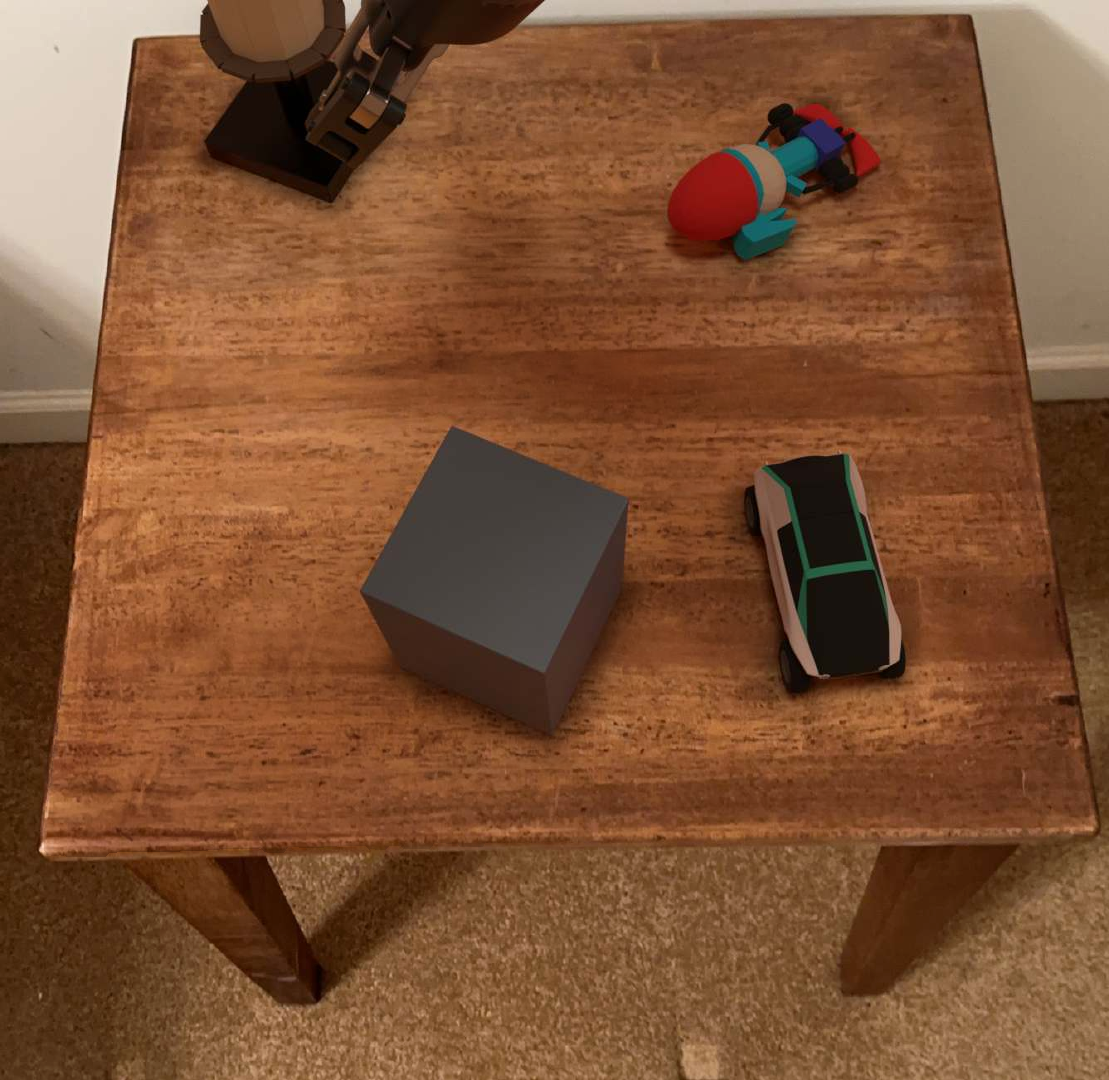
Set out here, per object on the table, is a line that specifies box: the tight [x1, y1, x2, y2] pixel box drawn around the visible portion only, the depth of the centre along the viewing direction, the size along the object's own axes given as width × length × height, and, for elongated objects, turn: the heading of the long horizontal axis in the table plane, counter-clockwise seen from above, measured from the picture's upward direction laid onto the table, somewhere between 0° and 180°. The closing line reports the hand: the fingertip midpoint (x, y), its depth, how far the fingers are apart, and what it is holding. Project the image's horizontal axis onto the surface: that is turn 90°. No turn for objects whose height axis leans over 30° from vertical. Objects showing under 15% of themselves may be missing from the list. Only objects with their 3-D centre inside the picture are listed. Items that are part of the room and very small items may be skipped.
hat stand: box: [203, 59, 354, 203], centre depth 69 cm, size 9×9×16 cm
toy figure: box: [667, 102, 883, 261], centre depth 72 cm, size 8×5×15 cm
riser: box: [359, 425, 630, 737], centre depth 58 cm, size 9×9×12 cm
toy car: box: [743, 450, 907, 694], centre depth 61 cm, size 6×12×5 cm, turn 8°
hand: (361, 57), depth 57 cm, fingers open, 8 cm apart
